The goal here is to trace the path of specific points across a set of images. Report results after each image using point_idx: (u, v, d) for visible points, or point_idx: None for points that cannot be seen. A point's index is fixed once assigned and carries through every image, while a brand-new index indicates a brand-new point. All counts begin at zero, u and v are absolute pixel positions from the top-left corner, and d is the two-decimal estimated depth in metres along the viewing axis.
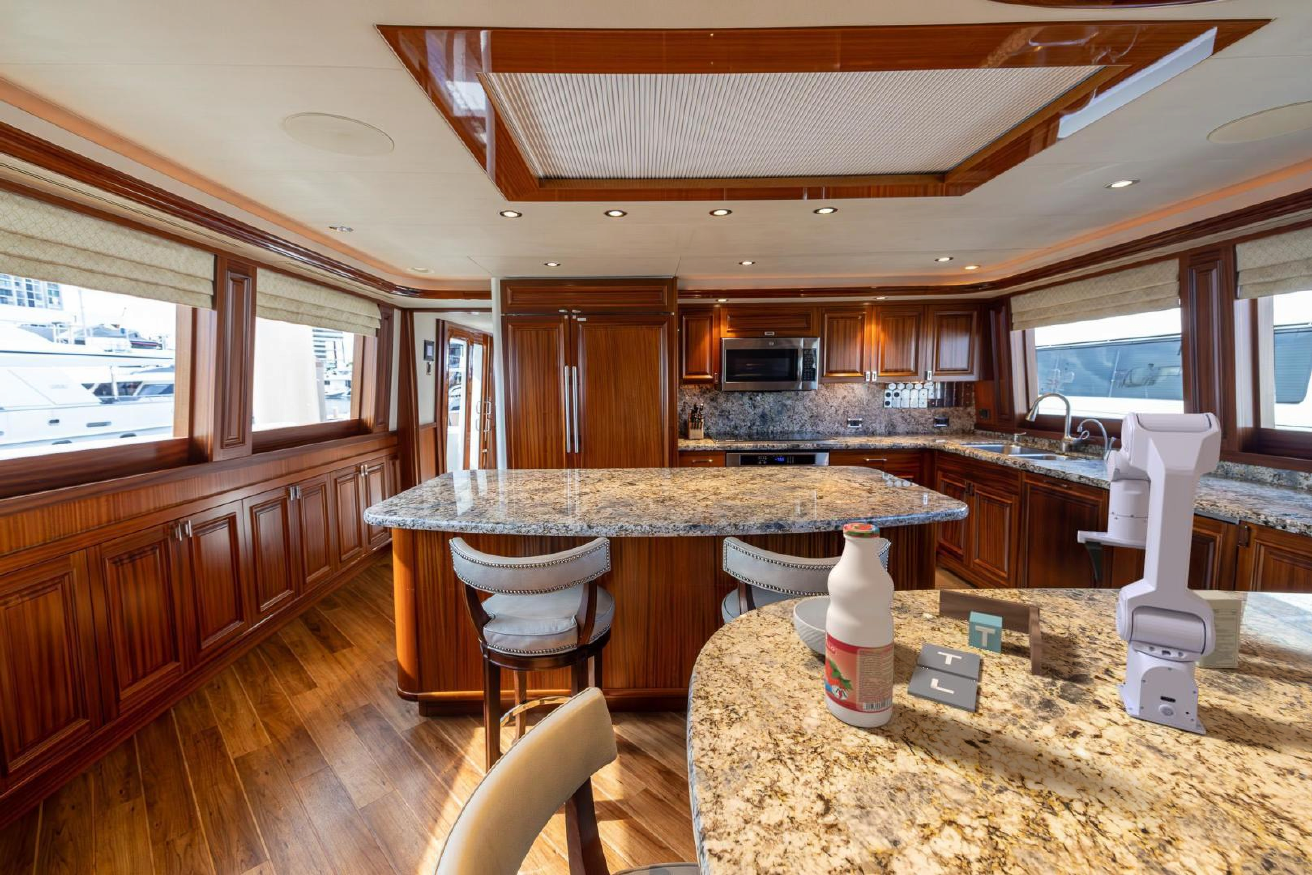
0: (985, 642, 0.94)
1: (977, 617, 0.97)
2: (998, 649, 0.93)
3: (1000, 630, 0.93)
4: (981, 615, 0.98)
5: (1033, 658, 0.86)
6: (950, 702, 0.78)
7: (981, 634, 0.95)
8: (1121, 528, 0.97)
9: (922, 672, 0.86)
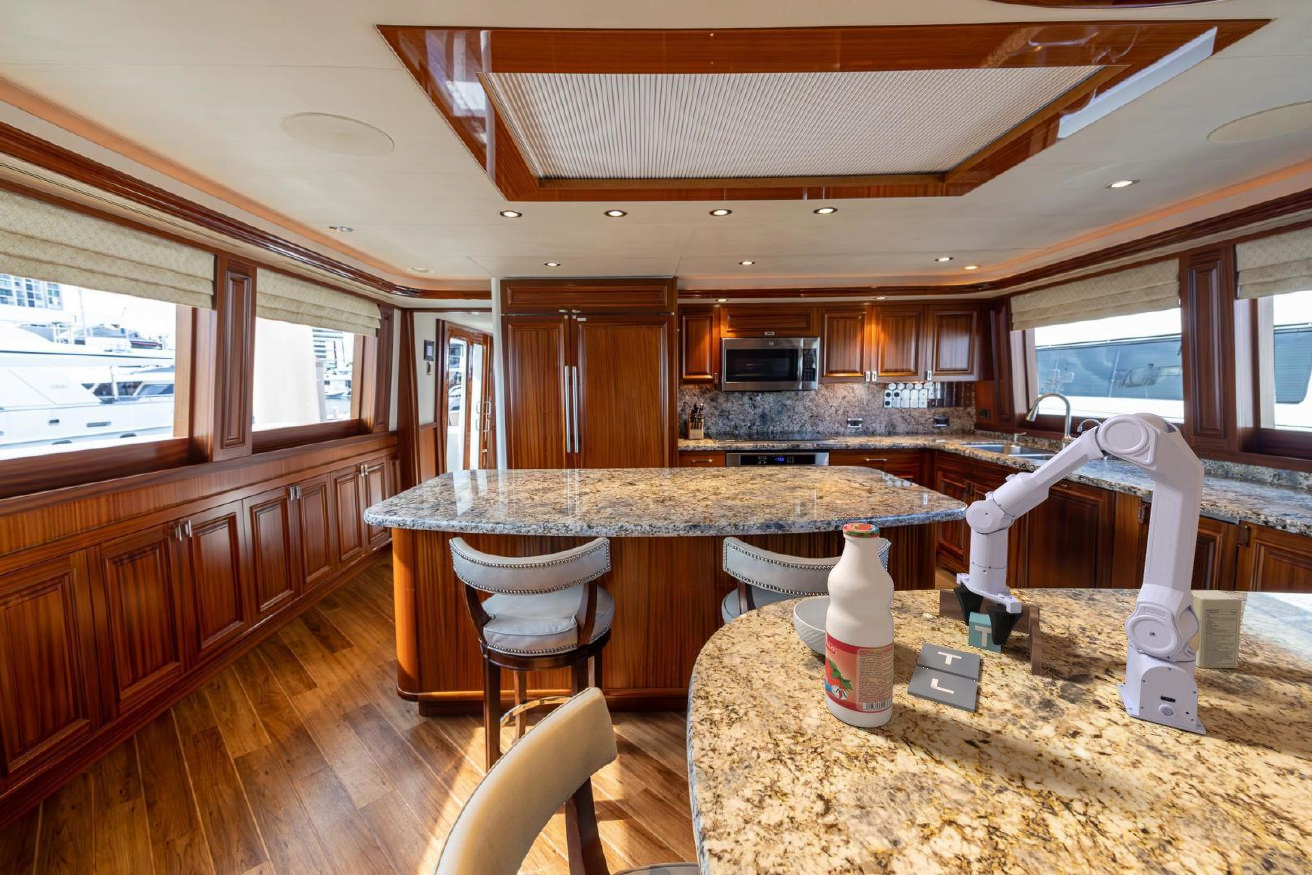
0: (984, 642, 0.94)
1: (977, 617, 0.97)
2: (998, 649, 0.93)
3: None
4: (981, 615, 0.98)
5: (1033, 658, 0.86)
6: (950, 702, 0.78)
7: (981, 634, 0.95)
8: (969, 574, 0.97)
9: (922, 672, 0.86)
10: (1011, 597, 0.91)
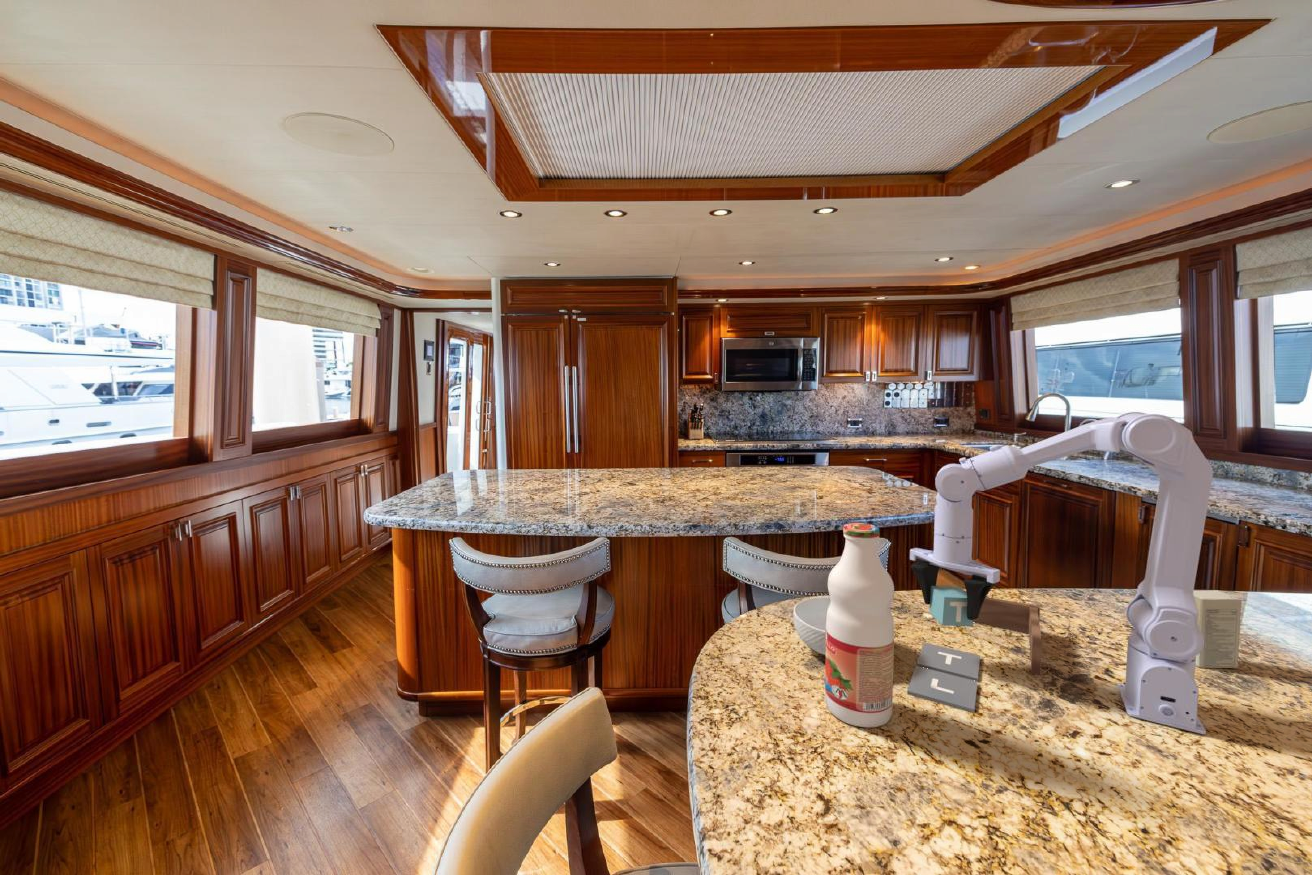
0: (959, 617, 0.87)
1: (944, 591, 0.90)
2: (971, 622, 0.87)
3: None
4: (944, 588, 0.91)
5: (1033, 658, 0.86)
6: (950, 702, 0.78)
7: (955, 609, 0.87)
8: (936, 547, 0.89)
9: (922, 672, 0.86)
10: (984, 566, 0.85)
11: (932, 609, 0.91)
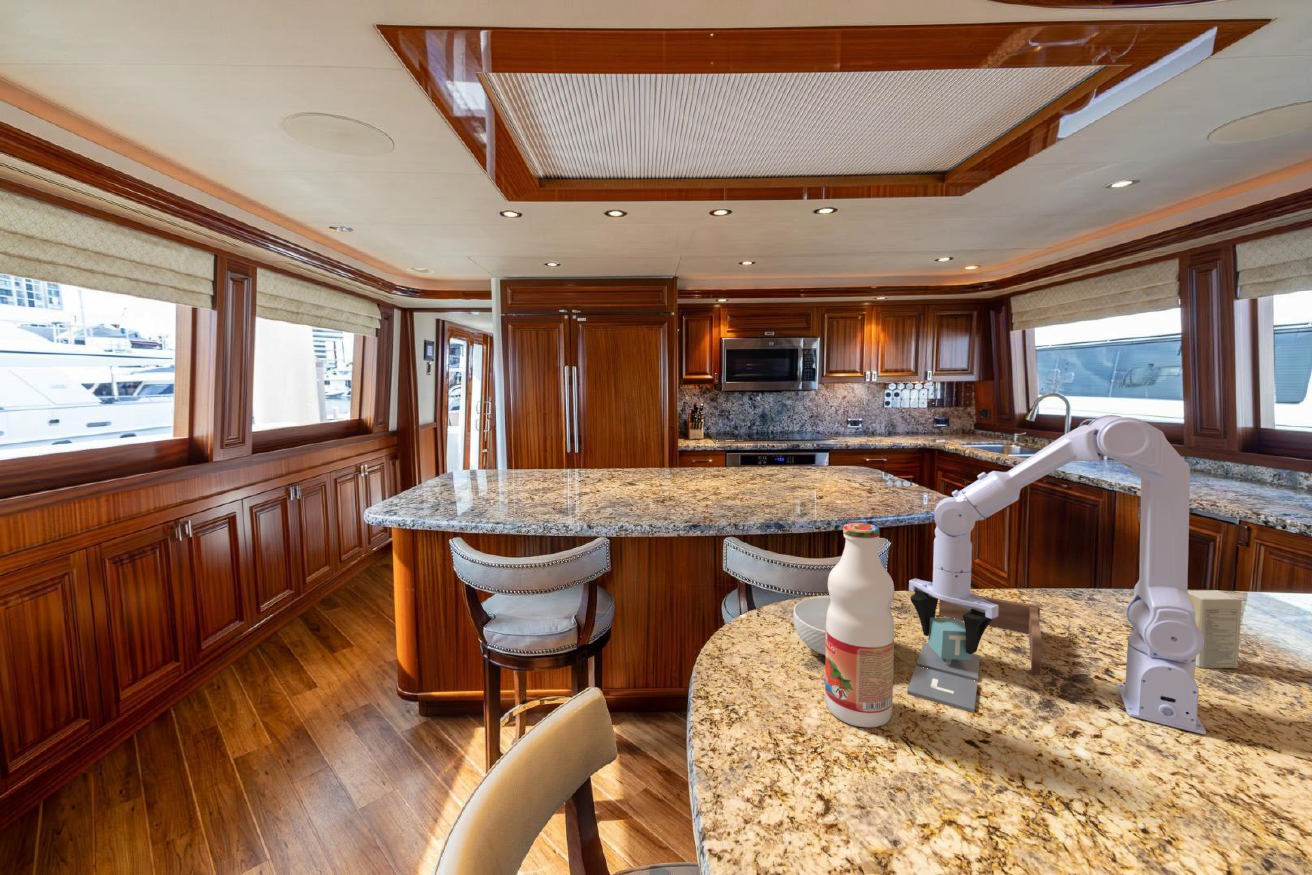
0: (957, 650, 0.88)
1: (943, 624, 0.90)
2: (969, 655, 0.88)
3: None
4: (942, 620, 0.91)
5: (1033, 658, 0.86)
6: (950, 702, 0.78)
7: (954, 643, 0.88)
8: (935, 580, 0.89)
9: (922, 672, 0.86)
10: (983, 600, 0.86)
11: (931, 641, 0.92)
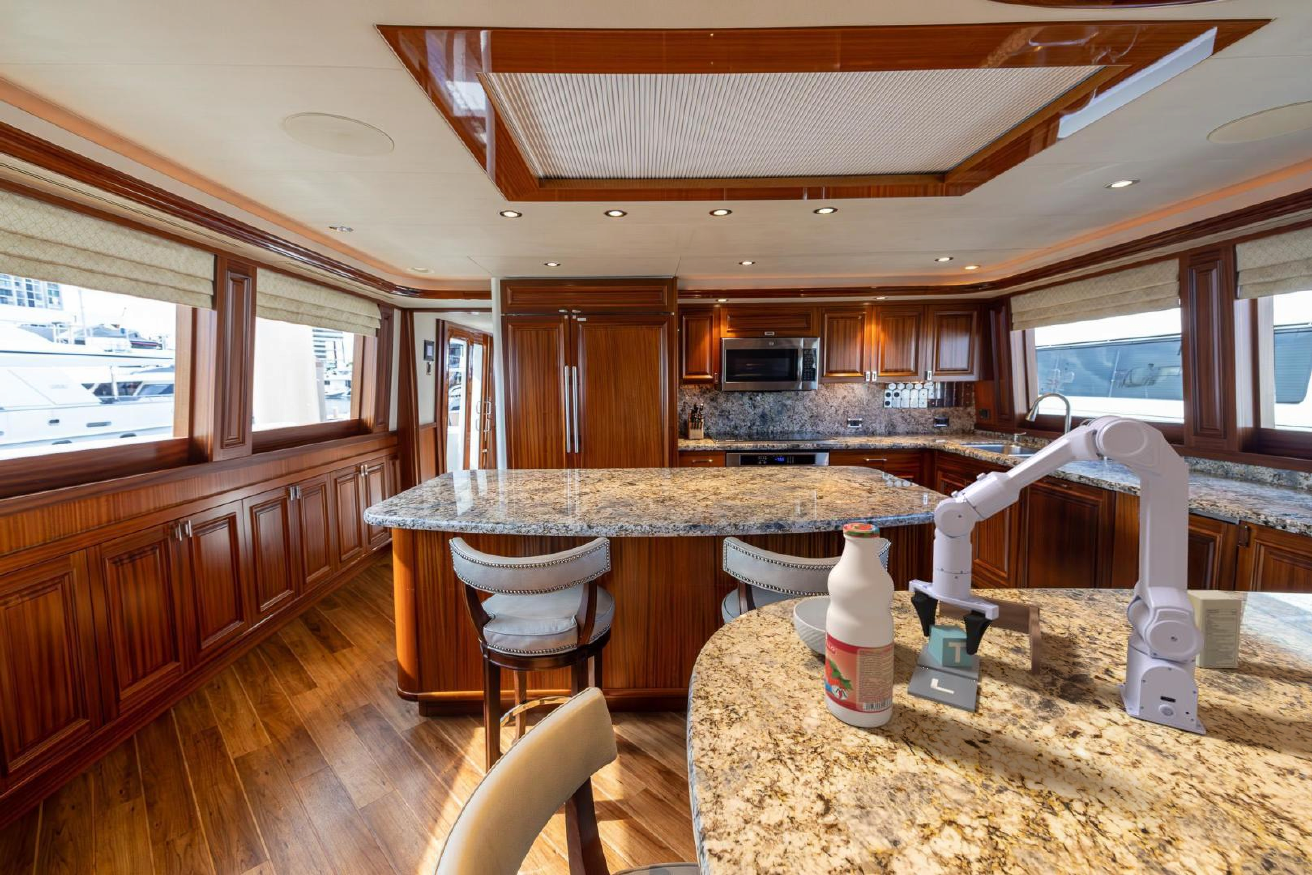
0: (958, 657, 0.88)
1: (943, 631, 0.90)
2: (970, 662, 0.88)
3: None
4: (942, 627, 0.91)
5: (1033, 658, 0.86)
6: (950, 702, 0.78)
7: (954, 650, 0.88)
8: (935, 582, 0.89)
9: (922, 672, 0.86)
10: (983, 601, 0.86)
11: (931, 648, 0.92)
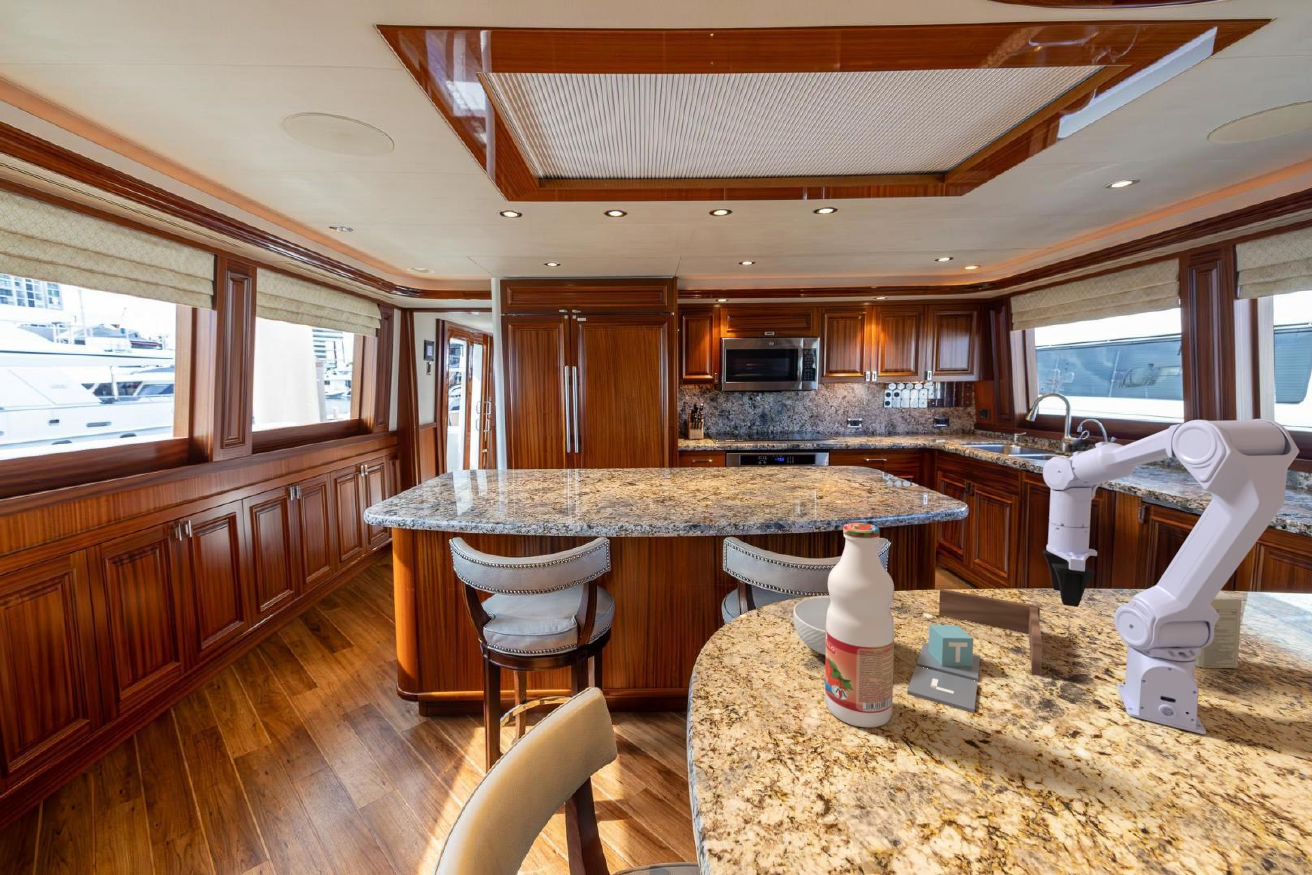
0: (958, 657, 0.88)
1: (943, 631, 0.90)
2: (970, 662, 0.88)
3: (972, 641, 0.87)
4: (942, 627, 0.91)
5: (1033, 658, 0.86)
6: (950, 702, 0.78)
7: (954, 650, 0.88)
8: None
9: (922, 672, 0.86)
10: (1082, 557, 0.88)
11: (931, 648, 0.92)
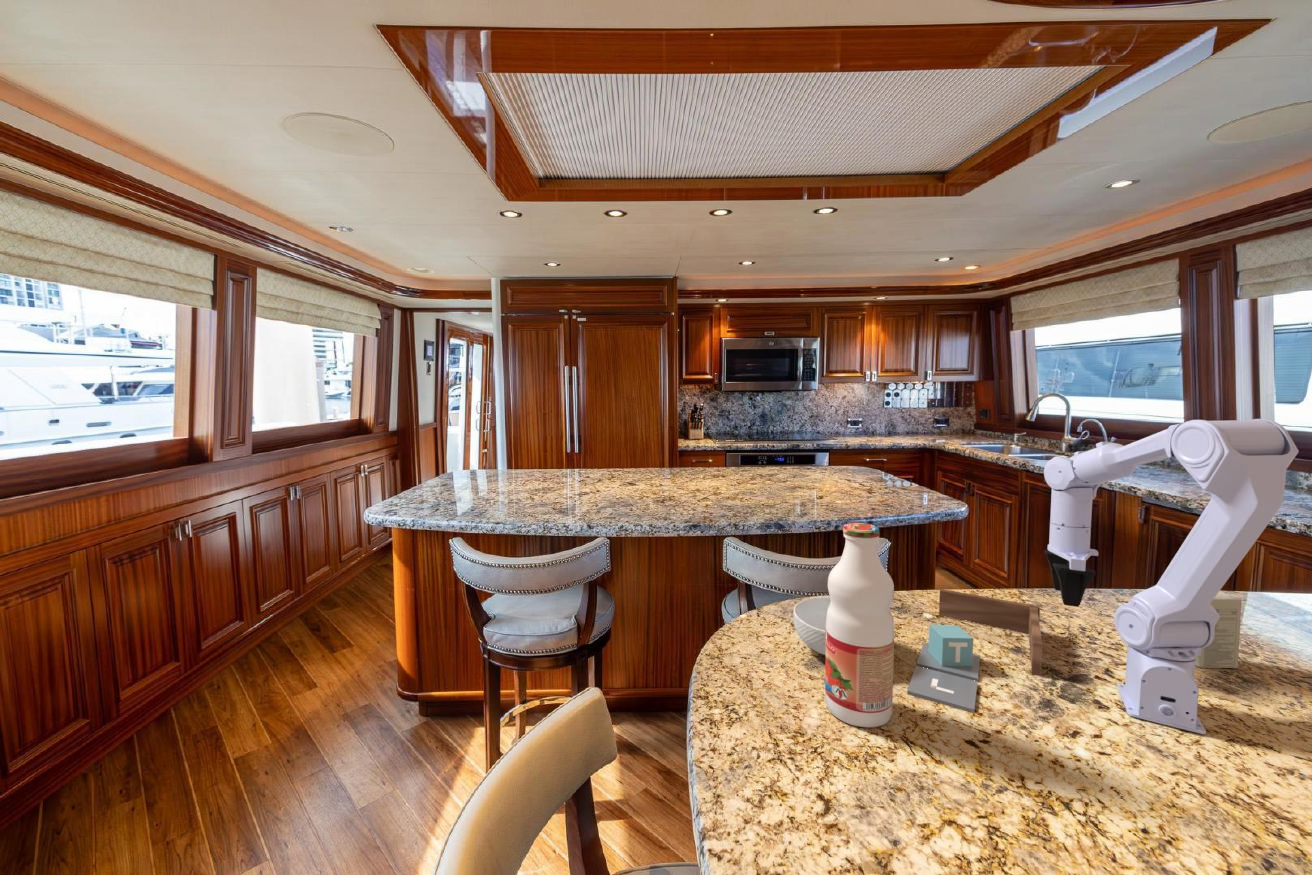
0: (958, 657, 0.88)
1: (943, 631, 0.90)
2: (970, 662, 0.88)
3: (972, 641, 0.87)
4: (942, 627, 0.91)
5: (1033, 658, 0.86)
6: (950, 702, 0.78)
7: (954, 650, 0.88)
8: None
9: (922, 672, 0.86)
10: (1082, 557, 0.88)
11: (931, 648, 0.92)
